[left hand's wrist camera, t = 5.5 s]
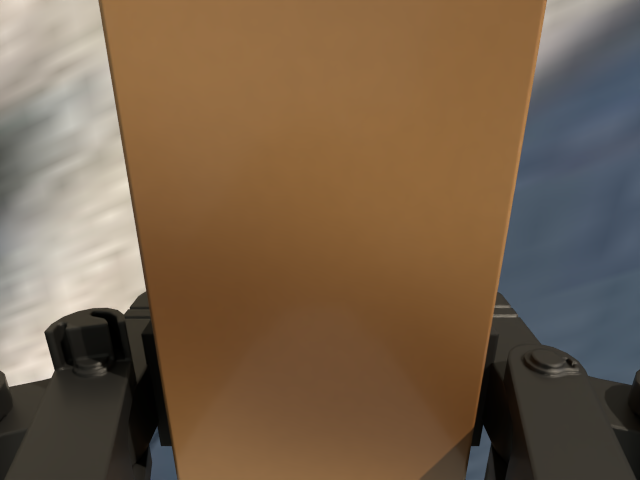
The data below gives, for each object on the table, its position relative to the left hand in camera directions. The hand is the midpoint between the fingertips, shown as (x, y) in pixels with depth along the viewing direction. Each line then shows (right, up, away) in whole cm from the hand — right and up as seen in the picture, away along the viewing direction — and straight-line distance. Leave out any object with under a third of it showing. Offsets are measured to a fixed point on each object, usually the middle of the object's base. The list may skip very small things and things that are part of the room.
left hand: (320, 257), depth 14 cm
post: (0, -26, +11) cm, 28 cm away
